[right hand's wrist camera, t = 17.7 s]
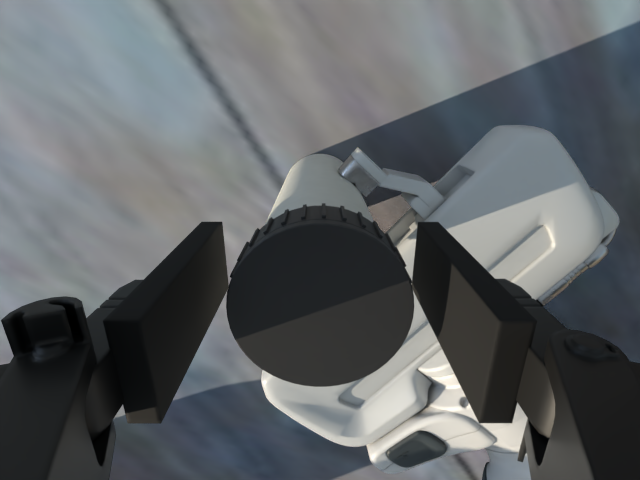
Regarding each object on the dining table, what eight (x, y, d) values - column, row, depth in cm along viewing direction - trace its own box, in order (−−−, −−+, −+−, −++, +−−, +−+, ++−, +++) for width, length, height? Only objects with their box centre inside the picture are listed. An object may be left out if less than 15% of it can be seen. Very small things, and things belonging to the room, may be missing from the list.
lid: (213, 315, 12) (196, 349, 10) (278, 171, 10) (269, 184, 9) (354, 372, 13) (359, 412, 11) (435, 247, 11) (455, 272, 10)
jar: (337, 141, 23) (362, 195, 9) (366, 205, 25) (424, 333, 11) (272, 173, 24) (207, 267, 10) (304, 233, 26) (286, 388, 12)
